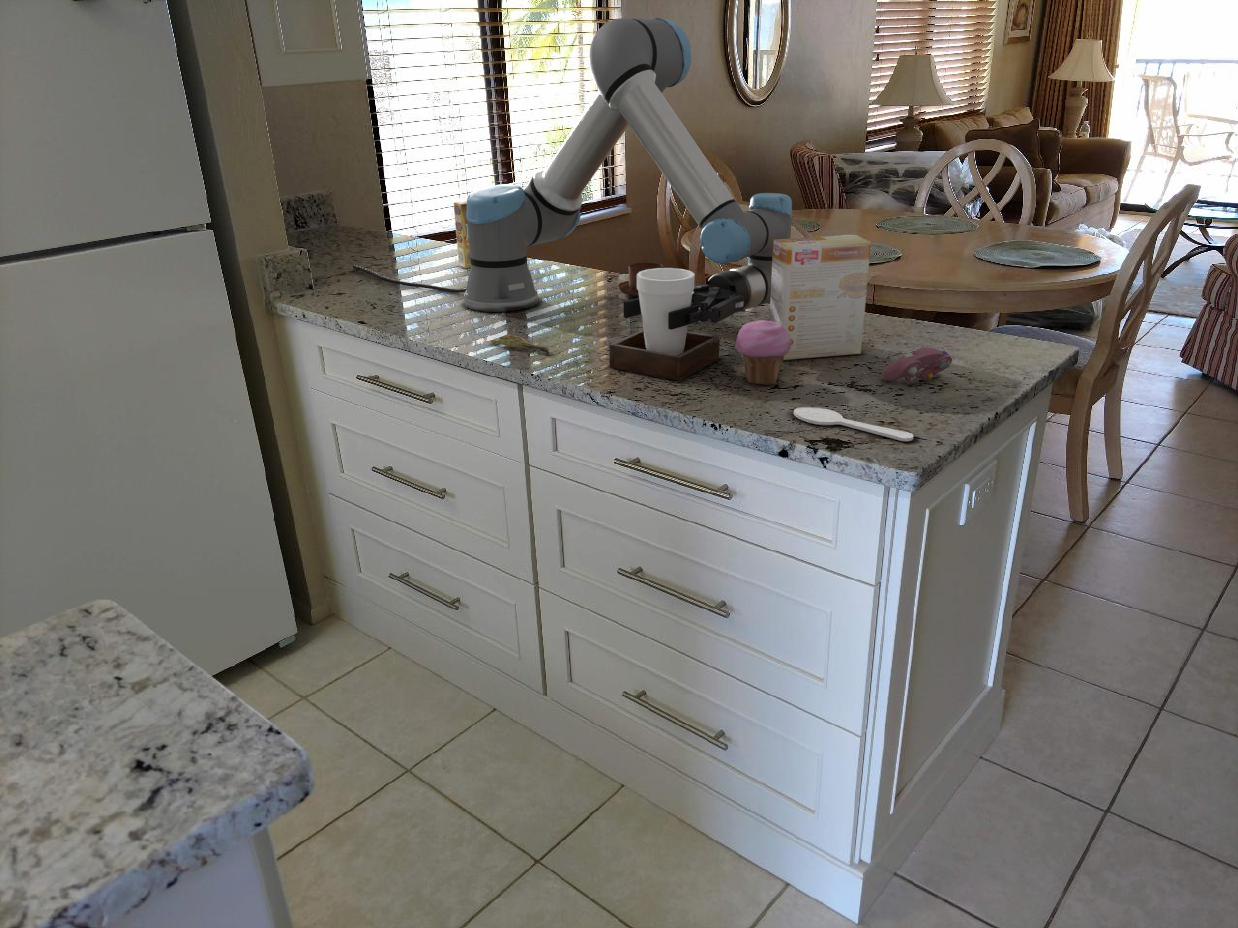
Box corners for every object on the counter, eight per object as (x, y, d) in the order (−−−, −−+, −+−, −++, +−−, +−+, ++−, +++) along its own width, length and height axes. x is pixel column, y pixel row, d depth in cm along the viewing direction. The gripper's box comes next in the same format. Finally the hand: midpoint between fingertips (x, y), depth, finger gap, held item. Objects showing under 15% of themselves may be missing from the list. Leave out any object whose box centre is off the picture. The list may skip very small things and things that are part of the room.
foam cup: (688, 360, 157) (689, 282, 152) (633, 357, 159) (632, 280, 153) (696, 343, 165) (697, 269, 160) (643, 341, 167) (643, 267, 162)
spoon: (904, 445, 129) (904, 442, 128) (786, 416, 139) (786, 413, 139) (920, 433, 132) (920, 430, 132) (803, 406, 143) (804, 403, 142)
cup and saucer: (632, 285, 214) (632, 258, 212) (682, 291, 209) (682, 262, 207) (608, 298, 204) (608, 269, 202) (660, 303, 199) (660, 274, 197)
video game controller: (893, 396, 151) (910, 363, 146) (878, 376, 154) (895, 343, 149) (943, 387, 155) (961, 355, 150) (927, 367, 157) (945, 335, 152)
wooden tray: (609, 367, 161) (609, 344, 160) (651, 347, 172) (651, 325, 170) (679, 381, 154) (680, 357, 153) (719, 359, 165) (720, 336, 163)
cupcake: (788, 391, 149) (792, 329, 145) (732, 389, 151) (734, 327, 146) (789, 373, 157) (792, 314, 153) (736, 371, 159) (738, 312, 154)
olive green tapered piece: (544, 356, 167) (543, 345, 166) (488, 348, 174) (487, 337, 173) (559, 350, 170) (558, 340, 169) (503, 342, 177) (502, 332, 176)
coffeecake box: (844, 343, 172) (854, 233, 164) (862, 354, 166) (873, 241, 158) (766, 349, 170) (772, 238, 162) (780, 361, 163) (787, 246, 155)
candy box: (465, 269, 232) (460, 204, 225) (458, 266, 235) (452, 202, 229) (498, 264, 236) (494, 200, 230) (489, 261, 239) (485, 198, 233)
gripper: (783, 323, 165) (697, 351, 151) (687, 301, 179) (600, 325, 165) (785, 279, 162) (698, 304, 148) (687, 261, 176) (599, 282, 162)
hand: (647, 315), depth 156 cm, fingers closed on foam cup, 9 cm apart
